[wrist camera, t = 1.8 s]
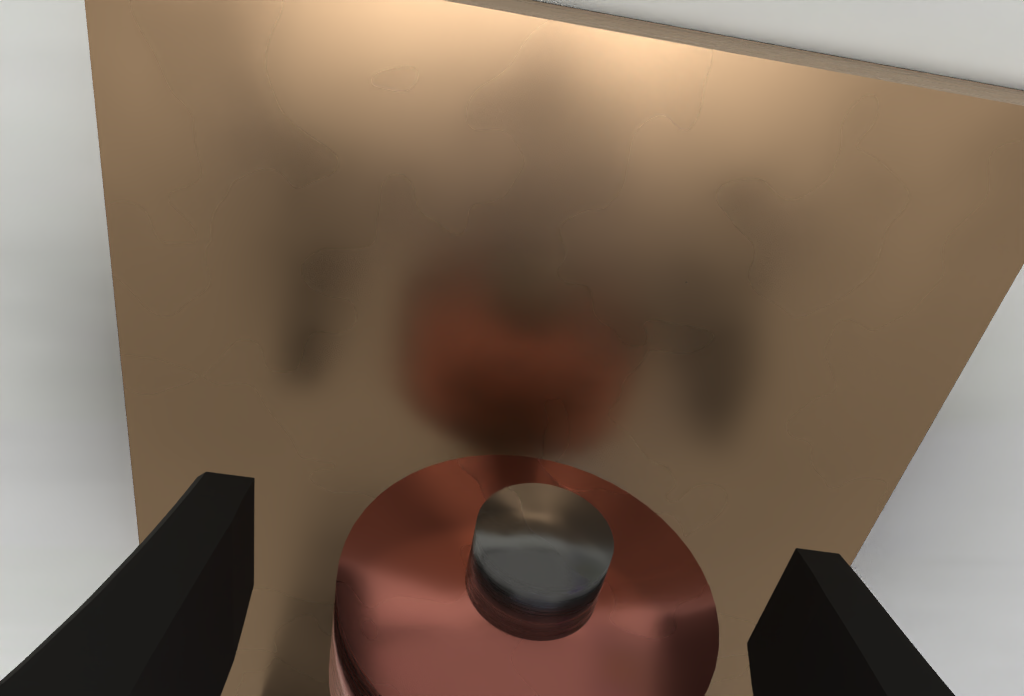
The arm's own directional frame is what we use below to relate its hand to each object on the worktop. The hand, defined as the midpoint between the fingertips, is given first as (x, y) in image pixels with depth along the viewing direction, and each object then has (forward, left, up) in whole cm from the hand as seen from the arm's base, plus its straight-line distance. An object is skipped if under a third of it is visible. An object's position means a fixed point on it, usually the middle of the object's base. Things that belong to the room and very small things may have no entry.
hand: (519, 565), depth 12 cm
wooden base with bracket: (-3, 0, -3) cm, 4 cm away
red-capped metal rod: (-5, 0, -1) cm, 5 cm away
